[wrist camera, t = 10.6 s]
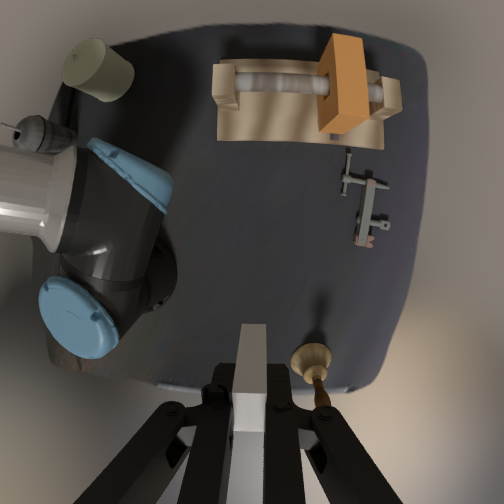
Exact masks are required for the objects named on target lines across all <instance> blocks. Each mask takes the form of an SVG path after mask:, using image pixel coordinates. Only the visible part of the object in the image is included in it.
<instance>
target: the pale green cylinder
mask: <svg viewBox="0 0 504 504" xmlns="http://www.w3.org/2000/svg"><path fill="white" fill-rule="evenodd" d="M133 79H134V68H133V66H132V64H131V63H130V62H128V61H126V60H124V59H123V58H122V57H121V56H119V55H118V54H117V53H116V52H115V51H113V50H112V49H111V48H110V47H109V46H107V45H106V44H105V43H104V42H103V41H102V40H100V39H98V38H92V39H88V40H85V41H83V42H82V43H80V44H79V45H77V46H76V47H75V48H74V49H73V50H72V51H71V53H70V54H69V55H68V57H67V58H66V60H65V62H64V65H63V68H62V80H63V82H64V83H65V84H66V85H68V86H71V87H74V88H76V89H78V90H81V91H83V92H85V93H88V94H90V95H92V96H94V97H96V98H98V99H99V100H101V101H103V102H111V101H114V100H116V99H118V98H120V97H121V96H123V95H124V94H125V93H126V92H127V90H128V89H129V88H130V86H131V84H132V82H133Z"/></svg>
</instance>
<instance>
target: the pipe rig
mask: <svg viewBox="0 0 504 504" xmlns="http://www.w3.org/2000/svg"><path fill="white" fill-rule="evenodd" d="M318 63H319V62H311V61H299V60H283V59H229V60H220V64H213V82H212V97H213V98H214V100H215V102H216V103H217V105H218V125H217V140H218V141H291V142H310V143H324V144H335V145H346V146H355V147H363V148H371V149H379V150H383V149H384V131H383V120H384V119H386V118H388V117H390V116H392V115H394V114H396V113H398V112H400V111H402V100H401V90H400V82H399V80H395V79H391V78H387V77H381V78H379V72H377V71H372V70H367V69H366V75H367V86H368V98H369V114H370V118H369V119H367V120H366V121H364V122H362V123H361V124H359V125H358V126H356V127H354V128H353V129H351V130H349V131H348V132H346V133H345V134H334V133H323V132H319V102H318V95H325V96H329V94H330V86H329V76H320V75H317V66H318Z"/></svg>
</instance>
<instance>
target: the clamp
mask: <svg viewBox="0 0 504 504" xmlns="http://www.w3.org/2000/svg"><path fill="white" fill-rule="evenodd" d="M346 155H348V157H347V165H346V173H345V174H343V175H342V182H344V187H343V193H341V195H343V196H347V194H346V188H347V183H350V182H354V183H359V184H363V193H362V199H361V206H360V212H359V217H357V218H356V223H358V224H357V230H356V234H355V235H354V239H353V242H354V244H356V245H358V246H364V247H369V248H372V247H373V246H372V244H371V243H370V241H372V240H374V237H373V236H371V235H368V231H369V225H373V226H378V228H379V229H384V230H389V228H390V222H389V221H386V220H381V219H380V220H379V221H376V220H371V213H372V207H373V200H374V193H375V187H377V188H381V189H382V188H383V189H389V186H385V185H383V184H379V183H376V181H375V180H373V179H366V180H362V179H357V178H352V177H351V176H350V175H348V174H349V166H350V158H351V156H352V154H350V153H347V154H346ZM384 224H385V226H384Z"/></svg>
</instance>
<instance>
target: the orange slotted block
mask: <svg viewBox="0 0 504 504" xmlns="http://www.w3.org/2000/svg"><path fill="white" fill-rule="evenodd" d="M317 75H320V76H329V86H330V94H329V96H325V95H318V102H319V132H323V133H334V134H345V133H346V132H348V131H349V130H351V129H353V128H354V127H356V126H358V125H359V124H361V123H362V122H364V121H366V120H367V119H369V118H370V114H369V98H368V86H367V75H366V66H365V58H364V50H363V43H362V38H357V37H352V36H346V35H340V34H334V33H333V34H332V36H331V38H330V40H329V42H328V44H327V46H326V48H325V51H324V53H323V55H322V57H321V59H320V61H319V63H318V66H317Z"/></svg>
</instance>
